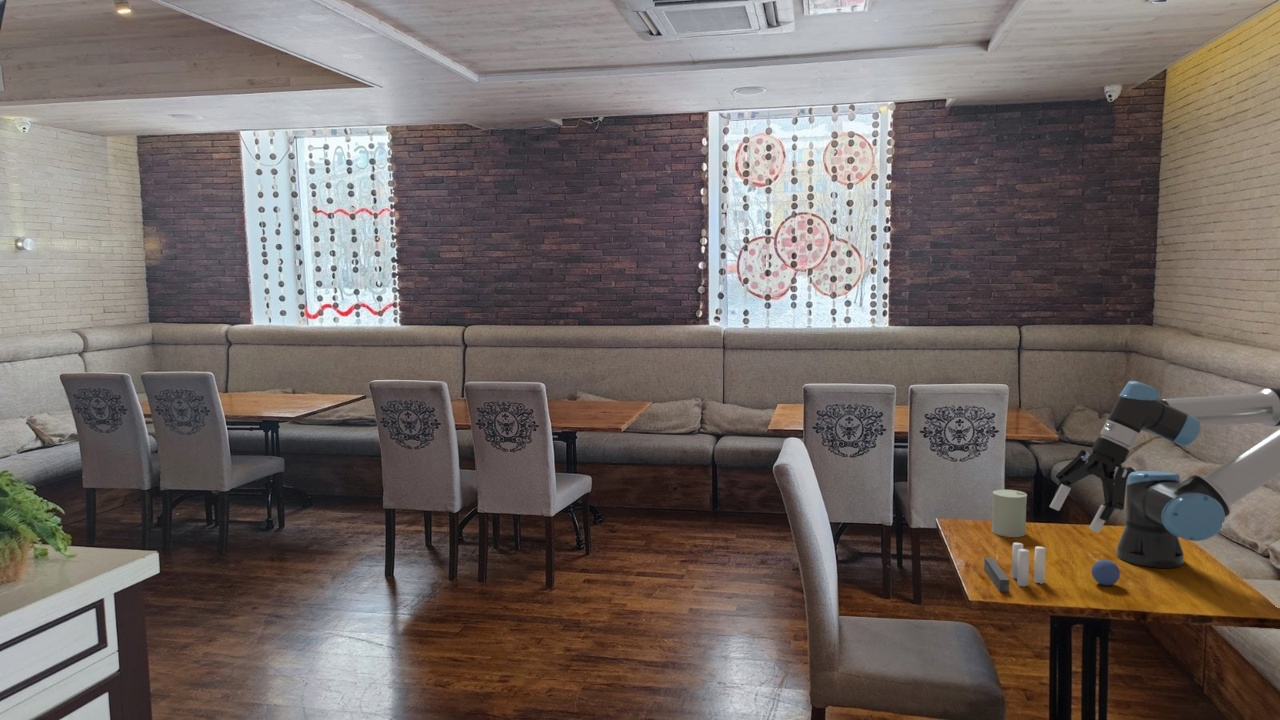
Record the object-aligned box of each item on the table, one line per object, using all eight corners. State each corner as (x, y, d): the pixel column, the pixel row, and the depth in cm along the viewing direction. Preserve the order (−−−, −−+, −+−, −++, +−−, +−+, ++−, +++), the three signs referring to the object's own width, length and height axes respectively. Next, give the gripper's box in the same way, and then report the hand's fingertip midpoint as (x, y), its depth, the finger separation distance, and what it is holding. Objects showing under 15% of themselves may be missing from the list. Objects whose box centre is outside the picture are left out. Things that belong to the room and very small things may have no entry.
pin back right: (1020, 576, 219) (1021, 542, 218) (1023, 579, 216) (1024, 545, 216) (1010, 575, 219) (1011, 542, 218) (1013, 579, 217) (1014, 545, 216)
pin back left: (1026, 583, 214) (1027, 549, 213) (1029, 586, 212) (1030, 552, 211) (1015, 582, 214) (1017, 548, 213) (1018, 586, 212) (1019, 552, 211)
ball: (1113, 580, 215) (1114, 556, 214) (1123, 589, 209) (1124, 565, 208) (1087, 579, 216) (1088, 555, 215) (1096, 588, 210) (1097, 564, 209)
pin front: (1042, 580, 216) (1044, 546, 215) (1045, 584, 213) (1047, 549, 212) (1032, 580, 216) (1033, 546, 215) (1035, 583, 214) (1036, 549, 213)
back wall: (992, 569, 224) (992, 557, 224) (1008, 592, 208) (1009, 580, 208) (984, 569, 224) (984, 557, 224) (999, 592, 208) (1000, 579, 208)
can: (1029, 538, 249) (1030, 496, 248) (994, 536, 251) (995, 495, 250) (1022, 528, 258) (1023, 488, 257) (988, 527, 260) (989, 487, 259)
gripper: (1067, 421, 225) (1028, 495, 227) (1144, 453, 201) (1099, 535, 203) (1088, 432, 227) (1049, 505, 229) (1166, 464, 203) (1122, 545, 206)
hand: (1073, 519), depth 216 cm, fingers open, 13 cm apart
